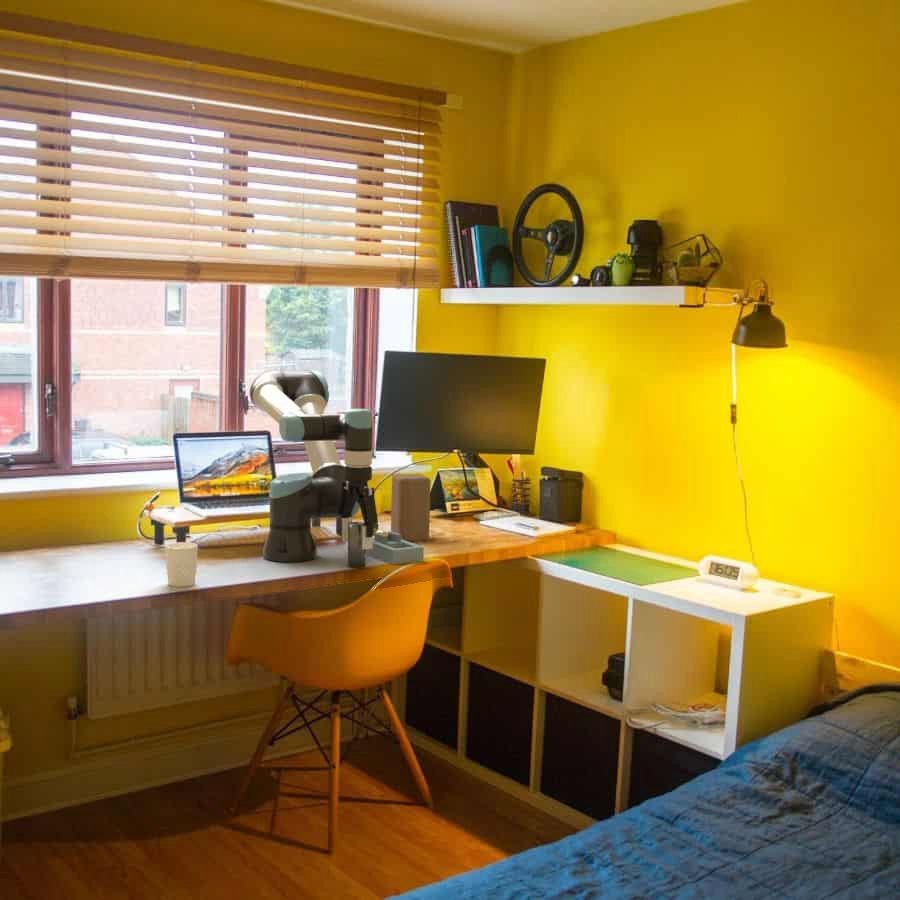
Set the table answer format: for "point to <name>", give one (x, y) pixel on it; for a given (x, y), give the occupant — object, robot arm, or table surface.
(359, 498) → the robot arm
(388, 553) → the mount
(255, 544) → the table surface
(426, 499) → the wooden block
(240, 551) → the table surface
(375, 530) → the lock pin
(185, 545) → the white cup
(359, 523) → the spigot
